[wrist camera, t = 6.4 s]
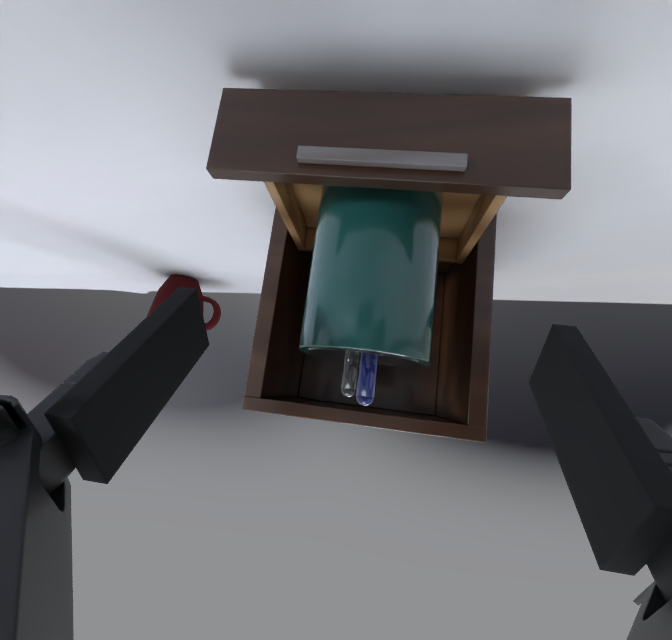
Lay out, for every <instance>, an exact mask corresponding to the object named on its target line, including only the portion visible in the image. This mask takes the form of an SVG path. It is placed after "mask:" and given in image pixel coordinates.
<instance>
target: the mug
mask: <svg viewBox="0 0 672 640" xmlns="http://www.w3.org/2000/svg"><path fill="white" fill-rule="evenodd" d="M178 287H183V288H193V289H197V290H198V295H199V300H200V304H201V309H202V314H203V301H205V302H209V303H211V304H212V305H213V308H214V314H213V317H212V319H211V320H210V321H209V322H208V323H205V328H206V330H210V329H212V328H213V327H215V325H216V324H217V323H218V322H219V319H220V316H221V310H220V307H219V305H218V303H217V302H216V301H215V300H213V299H211V298H209V297H205V296H203V295H202V292H201V289H200V286H199V283H198V281H197V280H196V279H193V278H191V277H187V276H183V275H171V276H170V277H169V278H168V279H167V280H166V281H165V282H164V284H163V285H162V286H161V287H160V288H159V290H158V292H157V294H156V296H155V299H154V301H153V303H152V306H151V308H150V310H149V312H148V315H147V317H148V316H149V315H150V314H151V313H152V312H153V311H154V310H155V309H156V308H157V307H158V306H159V305H160V304H161V303H162V302H164V301H165V300H166V299H167V298H168V297H169V296H170V295H171V294H172V293H173V292H174V291H175V290H176V289H177V288H178Z"/></svg>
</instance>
